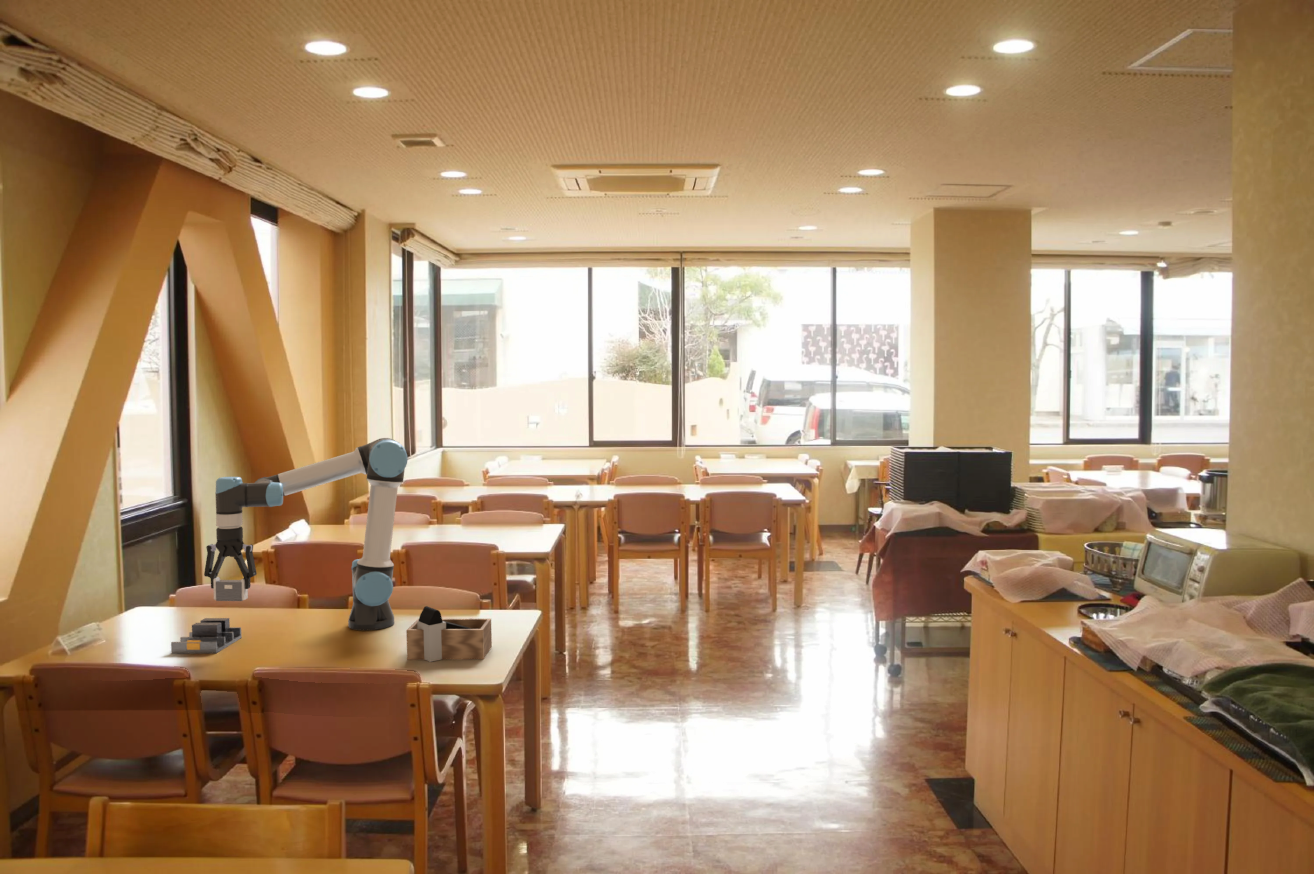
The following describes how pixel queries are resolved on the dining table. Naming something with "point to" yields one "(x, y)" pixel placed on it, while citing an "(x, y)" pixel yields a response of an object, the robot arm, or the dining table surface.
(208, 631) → the rack
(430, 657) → the decorative object
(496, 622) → the dining table surface
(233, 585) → the gray labeled box
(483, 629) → the open wooden box
